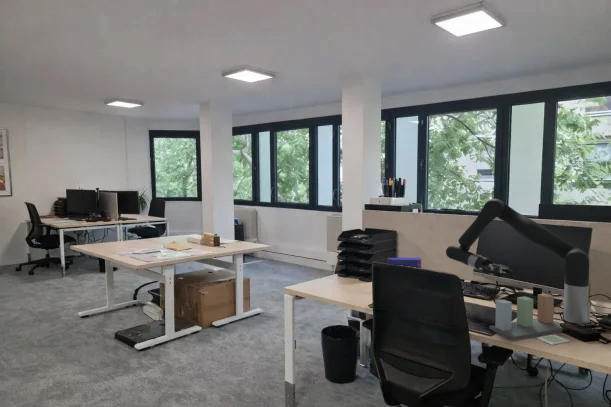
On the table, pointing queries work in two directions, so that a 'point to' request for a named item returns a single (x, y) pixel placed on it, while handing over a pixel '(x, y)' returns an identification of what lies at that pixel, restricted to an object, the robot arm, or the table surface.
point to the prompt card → (553, 339)
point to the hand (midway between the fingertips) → (507, 274)
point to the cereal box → (405, 262)
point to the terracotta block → (545, 308)
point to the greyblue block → (503, 314)
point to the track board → (528, 330)
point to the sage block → (525, 311)
